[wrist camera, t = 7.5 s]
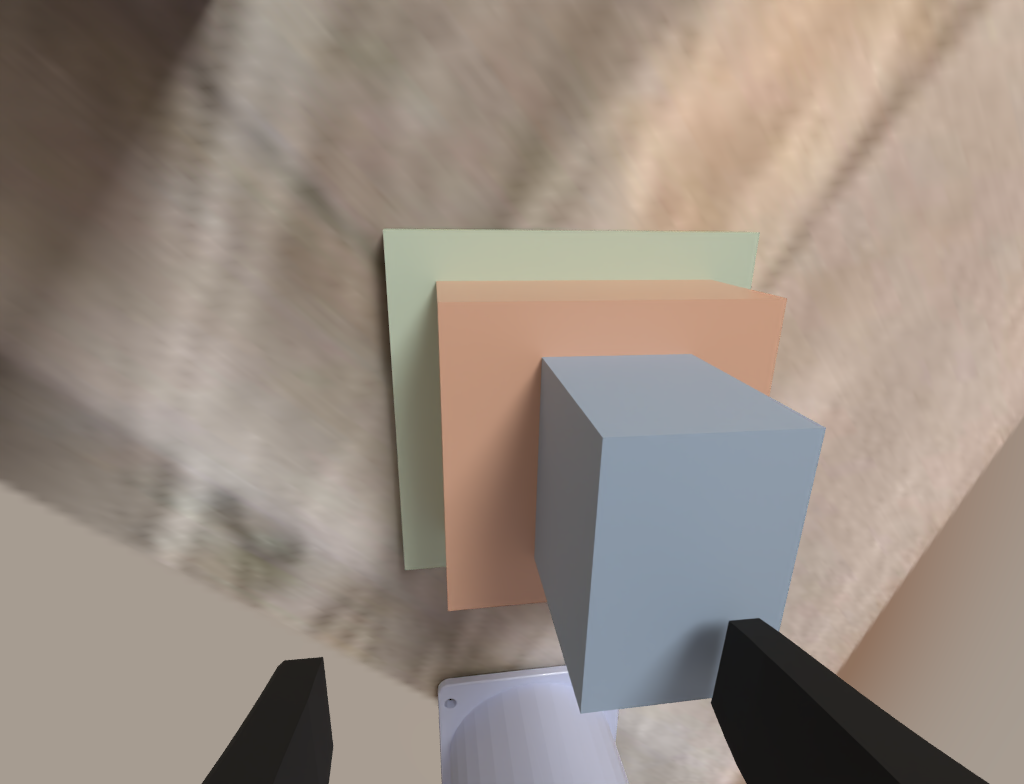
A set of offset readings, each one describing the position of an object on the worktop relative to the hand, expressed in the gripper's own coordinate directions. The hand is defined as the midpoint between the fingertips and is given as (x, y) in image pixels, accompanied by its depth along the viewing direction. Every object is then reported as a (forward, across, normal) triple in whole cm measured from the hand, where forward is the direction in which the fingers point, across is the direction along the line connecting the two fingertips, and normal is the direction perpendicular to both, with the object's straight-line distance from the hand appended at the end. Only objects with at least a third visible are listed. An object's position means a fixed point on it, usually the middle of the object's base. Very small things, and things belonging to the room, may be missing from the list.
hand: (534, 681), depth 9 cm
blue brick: (+6, -3, -1) cm, 7 cm away
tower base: (+10, -3, -1) cm, 11 cm away
